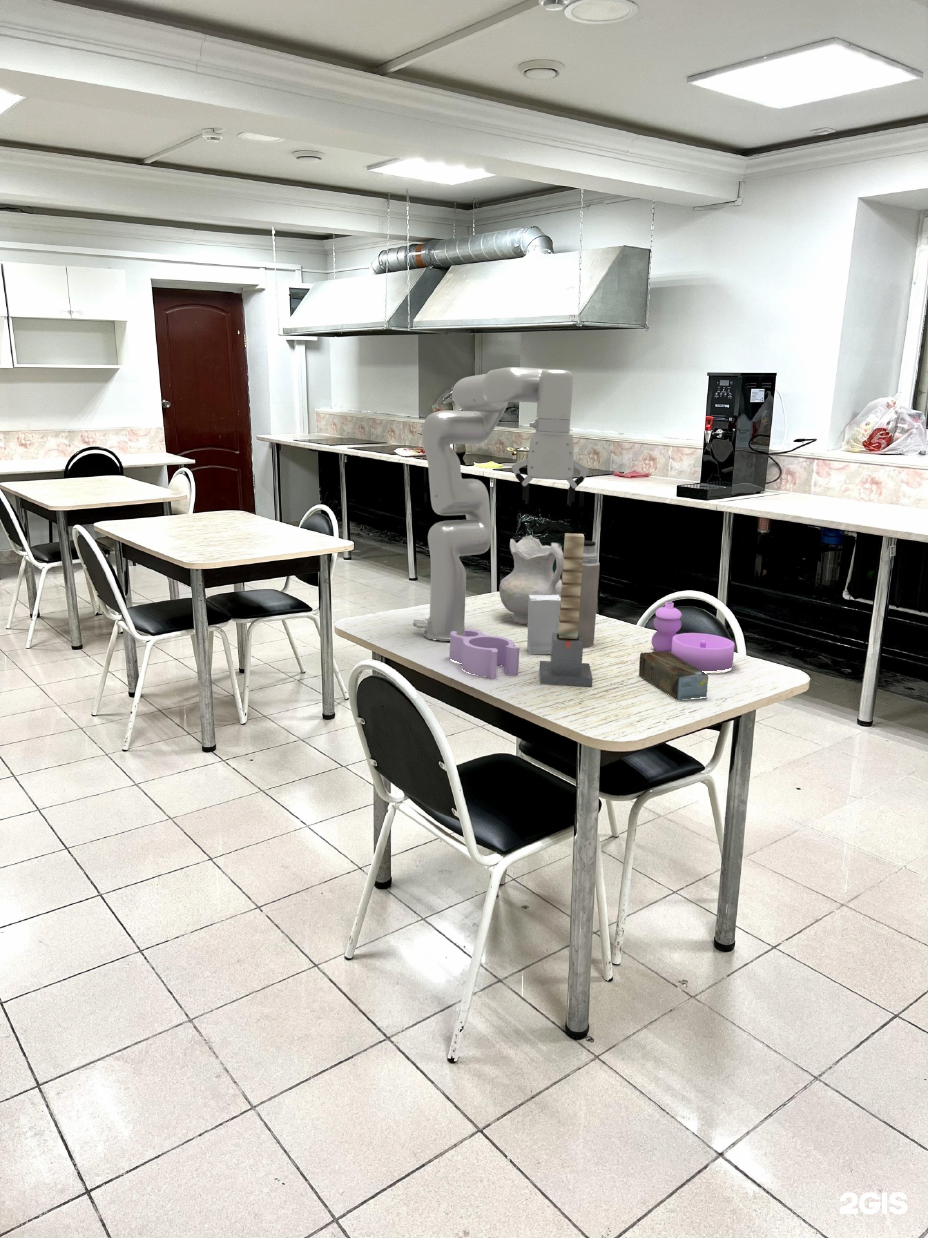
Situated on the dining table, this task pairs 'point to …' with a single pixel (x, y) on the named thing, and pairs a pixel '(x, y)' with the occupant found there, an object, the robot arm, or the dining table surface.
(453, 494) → the robot arm
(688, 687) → the beverage carton
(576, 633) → the post
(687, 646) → the container set
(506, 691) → the dining table surface
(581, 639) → the sleeve base
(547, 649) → the skincare box
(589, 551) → the thermos bottle
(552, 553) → the ceramic pitcher
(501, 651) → the clip
